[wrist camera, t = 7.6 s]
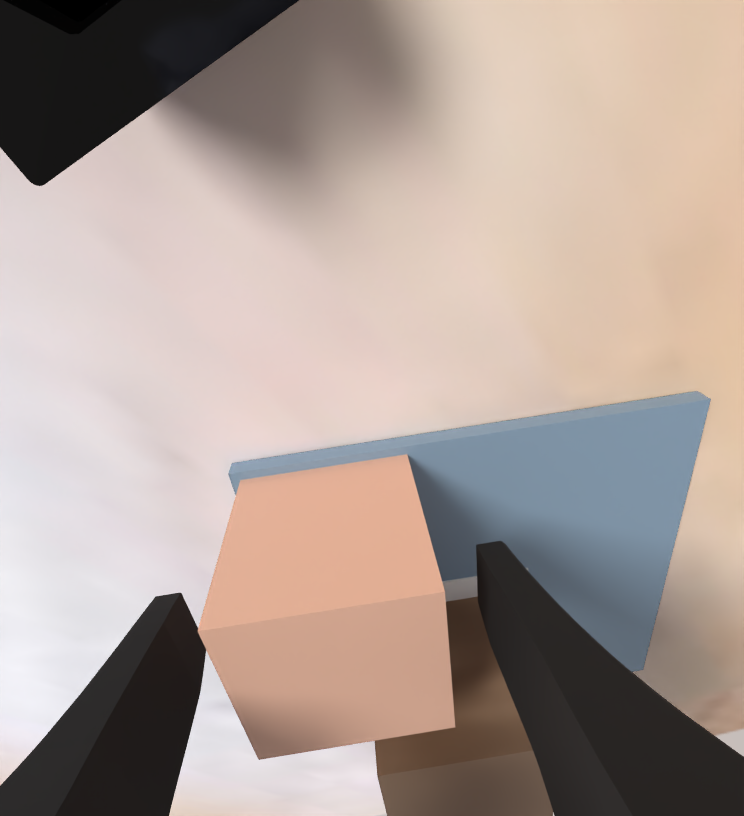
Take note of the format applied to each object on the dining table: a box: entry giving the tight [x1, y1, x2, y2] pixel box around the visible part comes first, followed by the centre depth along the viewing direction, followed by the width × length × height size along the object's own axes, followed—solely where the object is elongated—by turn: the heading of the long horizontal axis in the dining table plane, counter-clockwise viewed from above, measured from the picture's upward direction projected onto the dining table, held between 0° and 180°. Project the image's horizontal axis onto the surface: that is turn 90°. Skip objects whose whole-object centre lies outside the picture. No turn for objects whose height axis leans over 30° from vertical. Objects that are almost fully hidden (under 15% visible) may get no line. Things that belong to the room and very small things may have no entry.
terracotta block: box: [198, 454, 455, 760], centre depth 11 cm, size 4×4×4 cm
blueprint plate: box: [229, 391, 711, 672], centre depth 15 cm, size 13×12×1 cm
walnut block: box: [375, 597, 553, 816], centre depth 14 cm, size 4×4×4 cm
